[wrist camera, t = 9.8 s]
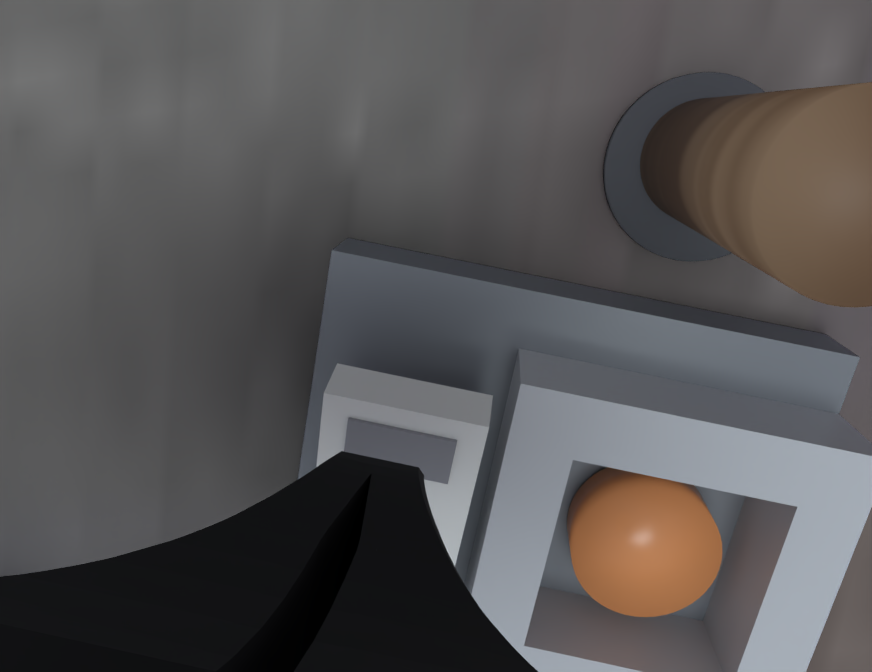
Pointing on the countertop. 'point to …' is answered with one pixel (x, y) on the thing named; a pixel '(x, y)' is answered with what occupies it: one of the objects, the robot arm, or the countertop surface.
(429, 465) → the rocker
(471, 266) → the grey fixture with socket
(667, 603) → the orange rounded piece
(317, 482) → the robot arm
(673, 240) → the coaster
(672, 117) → the dowel
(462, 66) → the countertop surface
